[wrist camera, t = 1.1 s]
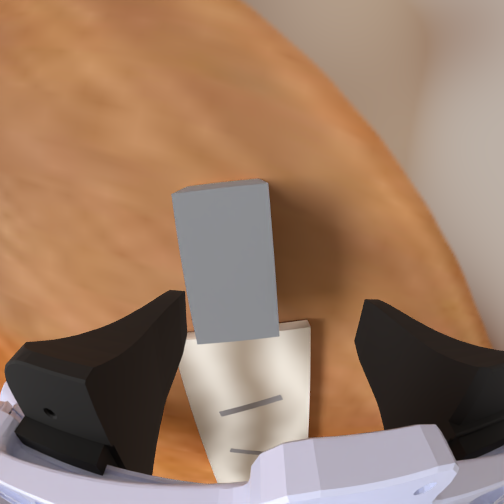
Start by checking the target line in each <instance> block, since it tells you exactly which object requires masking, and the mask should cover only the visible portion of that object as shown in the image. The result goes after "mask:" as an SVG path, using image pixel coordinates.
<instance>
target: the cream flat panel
mask: <svg viewBox="0 0 504 504" xmlns="http://www.w3.org/2000/svg"><path fill="white" fill-rule="evenodd" d="M310 358H311V327H310V325H309V322H308V320H302V321H294V322H286V323H279V337H271V338H262V339H253V340H244V341H234V342H223V343H211V344H197V340H196V336H195V332H187V338H186V343H185V347H184V352H183V356H182V358H181V361H180V364H179V370H180V374H181V377H182V380H183V384H184V387H185V391H186V394H187V397H188V400H189V404H190V407H191V410H192V413H193V416H194V419H195V422H196V425H197V428H198V431H199V434H200V437H201V440H202V443H203V445H204V448H205V451H206V454H207V456H208V459H209V462H210V464H211V467H212V469H213V472H214V475H215V477H216V480H217V482H218V483H232V482H243V481H249V479H250V472H251V466H252V464H253V463H254V462H255V460H256V459H257V458H258V456H259V455H260V454H261V453H263V452H264V451H266V450H269V449H271V448H273V447H275V446H277V445H280V444H282V443H284V442H289V441H295V440H301V439H307V438H308V428H309V404H310Z"/></svg>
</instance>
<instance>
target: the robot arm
mask: <svg viewBox="0 0 504 504" xmlns="http://www.w3.org/2000/svg"><path fill="white" fill-rule="evenodd" d="M186 338H187V323H186V303H185V291H175V290H169V291H167V292H166V293H164V294H162V295H161V296H159V297H158V298H156V299H154V300H153V301H151V302H150V303H148V304H147V305H145V306H143V307H142V308H140V309H138V310H137V311H135V312H133V313H131V314H129V315H128V316H126V317H124V318H122V319H120V320H118V321H116V322H114V323H111V324H109V325H106V326H104V327H101V328H99V329H96V330H92V331H89V332H86V333H83V334H80V335H75V336H71V337H67V338H61V339H55V340H47V341H37V342H26V343H25V344H24V345H23V346H22V347H21V348H20V349H19V350H18V352H17V353H16V354H15V355H14V356H13V357H12V358H11V359H10V360H9V362H8V363H7V364H6V365H5V377H6V382H5V384H4V385H3V388H2V391H1V395H0V504H503V503H504V351H499V350H493V349H488V348H483V347H479V346H475V345H472V344H469V343H465V342H462V341H459V340H456V339H454V338H451V337H449V336H446V335H444V334H442V333H439V332H437V331H435V330H433V329H431V328H429V327H427V326H425V325H424V324H422V323H420V322H418V321H416V320H415V319H413V318H411V317H409V316H408V315H406V314H404V313H403V312H401V311H399V310H397V309H396V308H394V307H392V306H391V305H389V304H387V303H385V302H383V301H380V300H370V299H365V301H364V305H363V309H362V313H361V317H360V321H359V325H358V329H357V333H356V337H355V340H354V341H355V345H356V349H357V353H358V357H359V360H360V363H361V365H362V368H363V370H364V372H365V375H366V377H367V379H368V382H369V384H370V386H371V389H372V391H373V393H374V396H375V398H376V401H377V404H378V407H379V410H380V414H381V418H382V422H383V426H384V430H383V431H376V432H369V433H361V434H352V435H342V436H331V437H316V438H307V439H301V440H295V441H289V442H284V443H282V444H280V445H277V446H275V447H273V448H271V449H269V450H266V451H264V452H263V453H261V454H260V455H259V456H258V458H257V459H256V460H255V462H254V463H253V464H252V466H251V472H250V479H249V481H243V482H232V483H217V484H203V483H194V482H187V481H180V480H173V479H168V478H162V477H157V476H152V472H153V464H154V458H155V451H156V445H157V440H158V434H159V429H160V424H161V419H162V415H163V410H164V406H165V402H166V399H167V396H168V393H169V390H170V388H171V385H172V382H173V380H174V377H175V374H176V372H177V369H178V366H179V364H180V361H181V358H182V356H183V352H184V347H185V343H186Z"/></svg>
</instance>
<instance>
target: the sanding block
mask: <svg viewBox="0 0 504 504" xmlns="http://www.w3.org/2000/svg"><path fill="white" fill-rule="evenodd" d="M172 201H173V209H174V216H175V223H176V230H177V237H178V243H179V250H180V256H181V262H182V268H183V273H184V279H185V285H186V290H187V296H188V301H189V306H190V311H191V316H192V321H193V326H194V331H195V336H196V340H197V344H211V343H223V342H234V341H244V340H253V339H262V338H271V337H279V320H278V305H277V290H276V276H275V262H274V248H273V235H272V223H271V211H270V199H269V187H268V183H267V182H265V181H263V180H261V179H259V178H258V179H247V180H237V181H228V182H219V183H210V184H202V185H194V186H188V187H186V188H183V189H181V190H179V191H177V192H175V193H173V194H172Z"/></svg>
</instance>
